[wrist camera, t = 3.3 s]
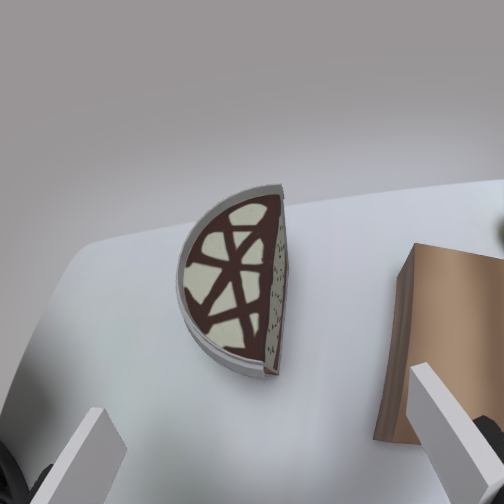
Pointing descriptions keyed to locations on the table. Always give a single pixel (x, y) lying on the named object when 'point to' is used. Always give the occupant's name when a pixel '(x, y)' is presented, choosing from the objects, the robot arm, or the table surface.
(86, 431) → the robot arm
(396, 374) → the square wooden plinth
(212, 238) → the food container
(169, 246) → the table surface
